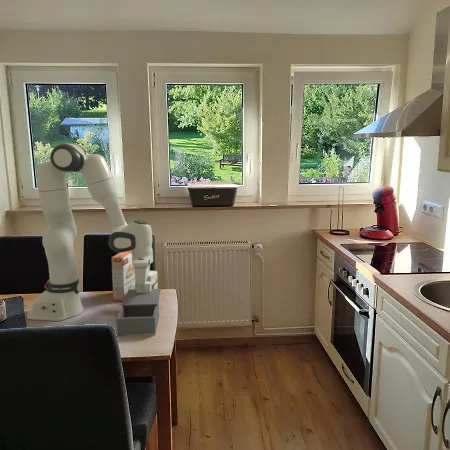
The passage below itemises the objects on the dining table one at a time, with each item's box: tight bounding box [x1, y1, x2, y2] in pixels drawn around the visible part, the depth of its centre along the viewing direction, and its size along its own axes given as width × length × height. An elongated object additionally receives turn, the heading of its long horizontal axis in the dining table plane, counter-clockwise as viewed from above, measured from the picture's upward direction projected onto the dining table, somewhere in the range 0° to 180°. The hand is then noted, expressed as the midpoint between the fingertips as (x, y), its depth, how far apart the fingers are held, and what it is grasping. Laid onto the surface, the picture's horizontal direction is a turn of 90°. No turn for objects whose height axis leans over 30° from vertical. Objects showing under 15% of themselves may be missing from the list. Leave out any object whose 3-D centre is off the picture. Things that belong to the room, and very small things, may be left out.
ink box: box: [147, 270, 159, 289], centre depth 195 cm, size 8×5×12 cm, turn 168°
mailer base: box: [116, 300, 160, 337], centre depth 164 cm, size 14×18×7 cm
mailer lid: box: [121, 281, 162, 307], centre depth 174 cm, size 14×18×5 cm
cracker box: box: [111, 250, 136, 302], centre depth 195 cm, size 14×6×21 cm, turn 170°
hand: (143, 288), depth 180 cm, fingers closed on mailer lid, 3 cm apart
